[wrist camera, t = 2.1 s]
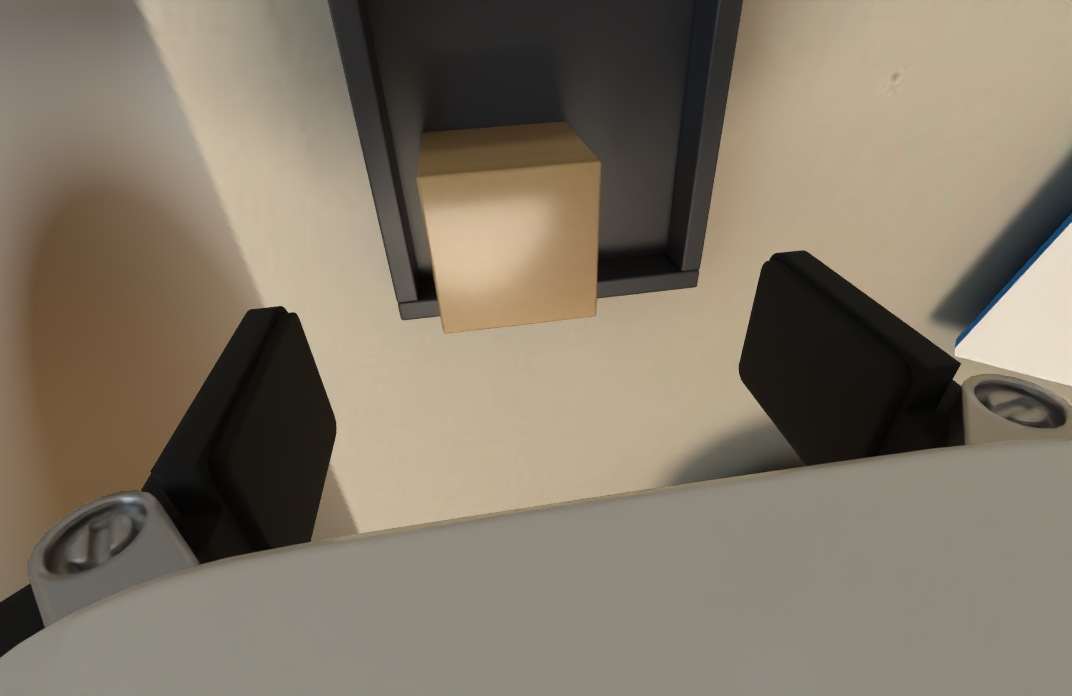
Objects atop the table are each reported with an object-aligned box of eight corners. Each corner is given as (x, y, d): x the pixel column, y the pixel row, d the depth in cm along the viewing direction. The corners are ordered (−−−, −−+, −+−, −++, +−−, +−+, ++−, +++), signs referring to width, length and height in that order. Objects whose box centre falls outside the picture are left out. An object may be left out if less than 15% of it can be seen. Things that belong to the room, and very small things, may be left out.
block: (421, 132, 15) (415, 177, 12) (565, 120, 16) (601, 161, 12) (442, 264, 18) (443, 335, 14) (566, 252, 18) (596, 316, 15)
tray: (254, -403, 10) (216, -480, 8) (761, -393, 11) (818, -459, 9) (404, 291, 19) (401, 321, 17) (675, 262, 20) (697, 287, 18)
